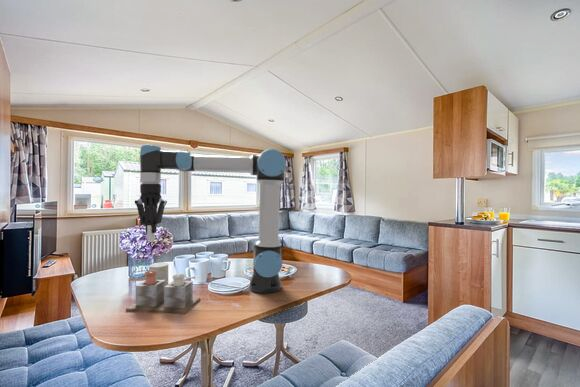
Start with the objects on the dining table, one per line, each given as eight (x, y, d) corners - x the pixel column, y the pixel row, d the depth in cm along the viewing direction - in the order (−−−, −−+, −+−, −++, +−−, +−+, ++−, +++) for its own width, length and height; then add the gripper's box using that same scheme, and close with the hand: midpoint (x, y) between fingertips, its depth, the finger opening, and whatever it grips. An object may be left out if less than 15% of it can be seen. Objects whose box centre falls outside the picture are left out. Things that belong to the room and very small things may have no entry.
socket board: (200, 299, 123) (200, 279, 123) (184, 314, 109) (184, 290, 109) (147, 297, 126) (147, 277, 126) (126, 311, 112) (125, 288, 112)
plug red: (159, 294, 120) (159, 270, 120) (153, 298, 116) (152, 273, 115) (149, 293, 121) (148, 270, 121) (142, 297, 116) (142, 273, 116)
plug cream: (186, 297, 119) (186, 273, 119) (181, 302, 114) (181, 277, 114) (176, 297, 119) (176, 273, 119) (170, 301, 115) (170, 276, 115)
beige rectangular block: (161, 294, 130) (161, 267, 130) (145, 292, 132) (145, 266, 131) (172, 288, 138) (171, 263, 138) (157, 286, 140) (156, 262, 139)
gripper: (170, 183, 120) (170, 239, 121) (141, 183, 122) (141, 239, 122) (160, 183, 113) (161, 243, 113) (129, 183, 114) (130, 242, 115)
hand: (151, 240), depth 118 cm, fingers closed
